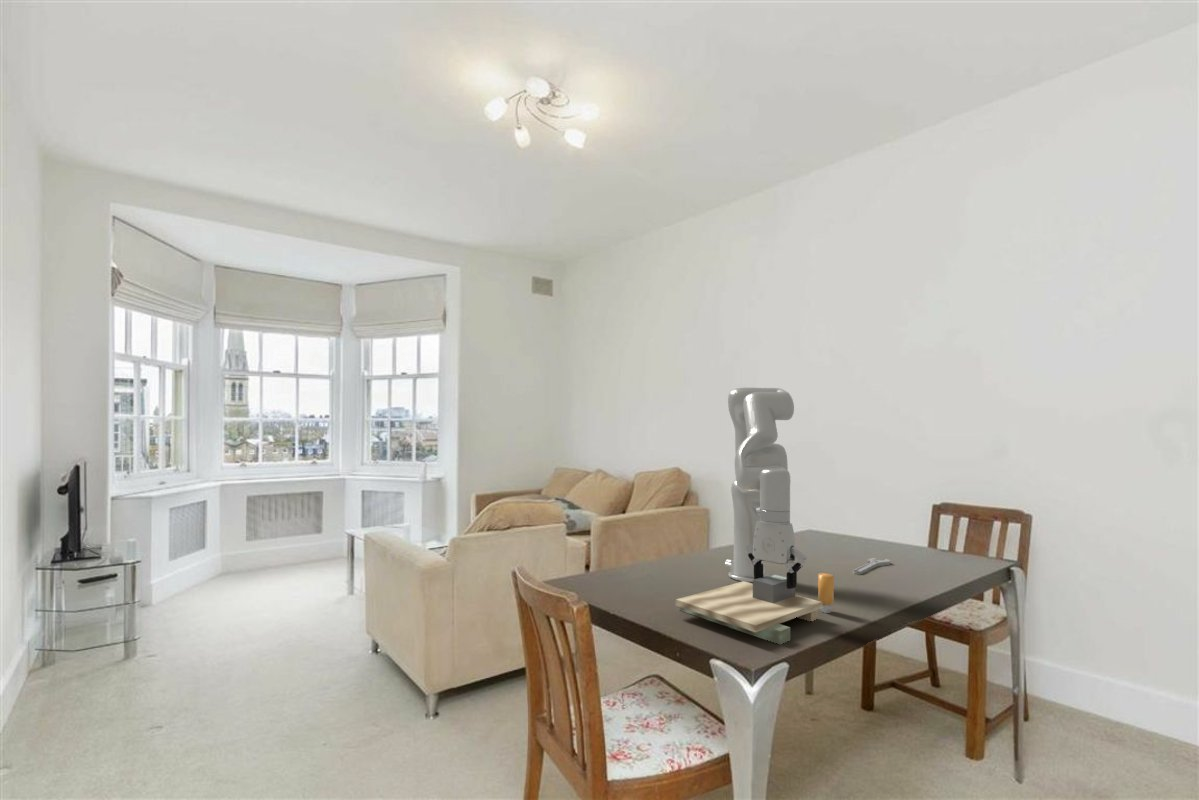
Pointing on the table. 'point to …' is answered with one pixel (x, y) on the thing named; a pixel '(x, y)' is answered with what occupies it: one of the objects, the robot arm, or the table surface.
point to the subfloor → (749, 610)
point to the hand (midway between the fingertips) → (774, 583)
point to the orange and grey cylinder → (826, 591)
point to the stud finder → (772, 588)
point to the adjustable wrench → (871, 565)
